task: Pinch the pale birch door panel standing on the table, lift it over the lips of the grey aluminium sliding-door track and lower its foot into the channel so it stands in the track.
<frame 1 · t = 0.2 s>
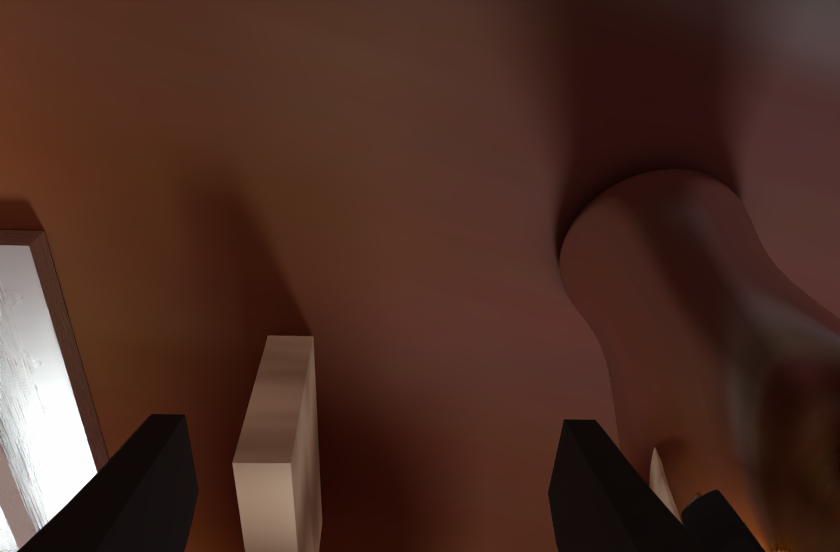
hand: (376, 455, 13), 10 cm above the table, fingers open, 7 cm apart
door track: (9, 436, 25), on the table
door panel: (298, 436, 26), on the table
beer glass: (648, 246, 22), on the table
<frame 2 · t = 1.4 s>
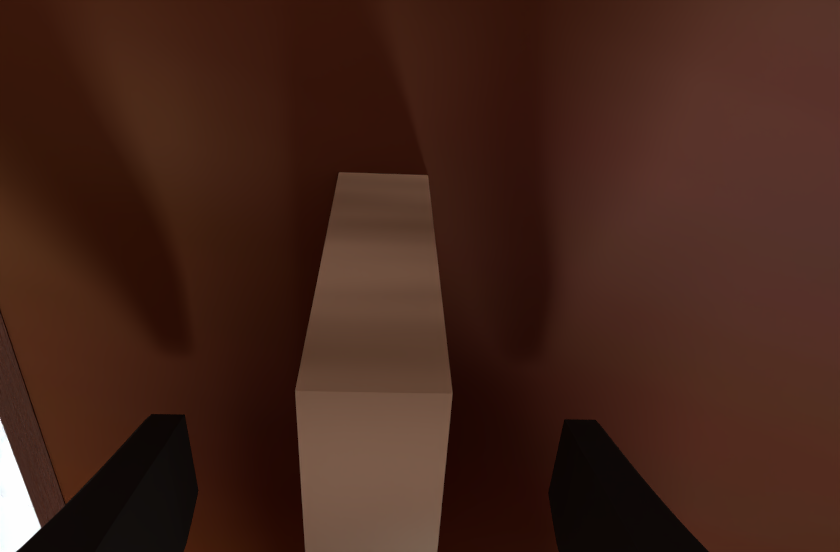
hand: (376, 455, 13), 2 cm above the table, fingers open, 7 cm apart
door panel: (378, 385, 14), on the table
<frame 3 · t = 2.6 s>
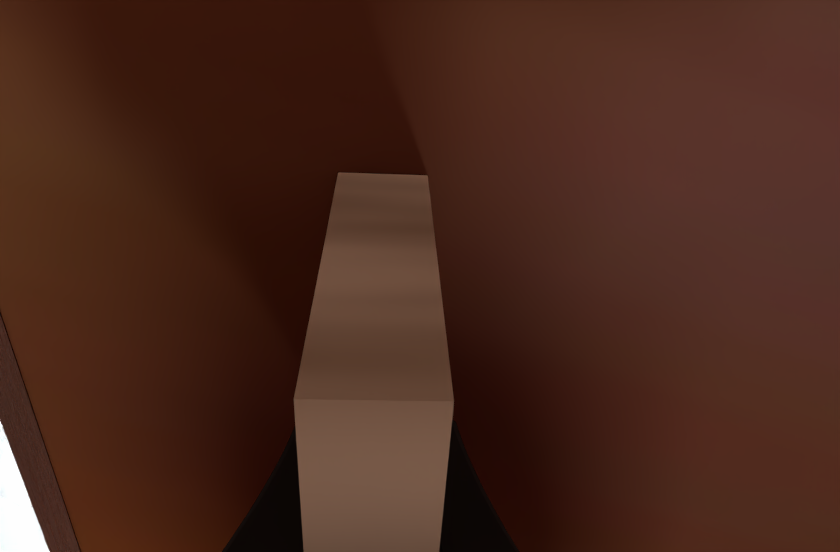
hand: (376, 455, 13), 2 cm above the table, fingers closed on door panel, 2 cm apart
door panel: (378, 388, 14), on the table, touching gripper
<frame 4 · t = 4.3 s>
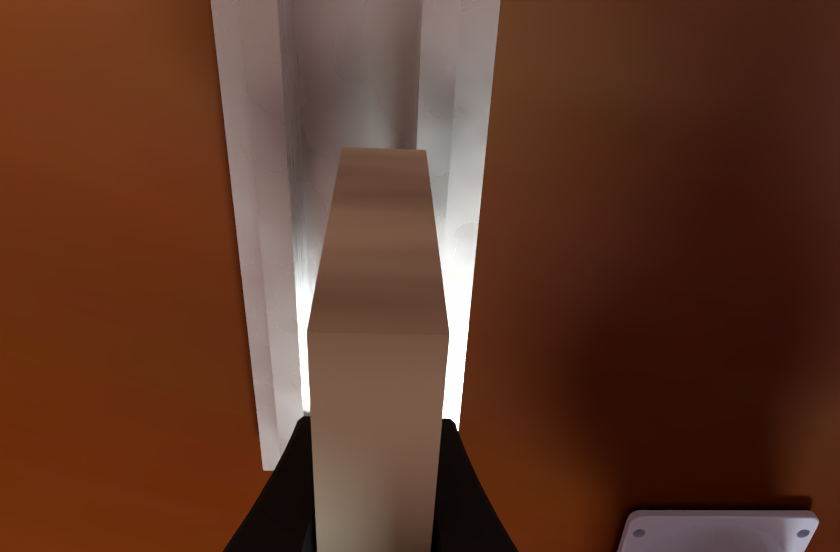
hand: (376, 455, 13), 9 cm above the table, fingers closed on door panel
door track: (359, 241, 20), on the table
door panel: (379, 356, 15), point 6 cm above the table, touching gripper
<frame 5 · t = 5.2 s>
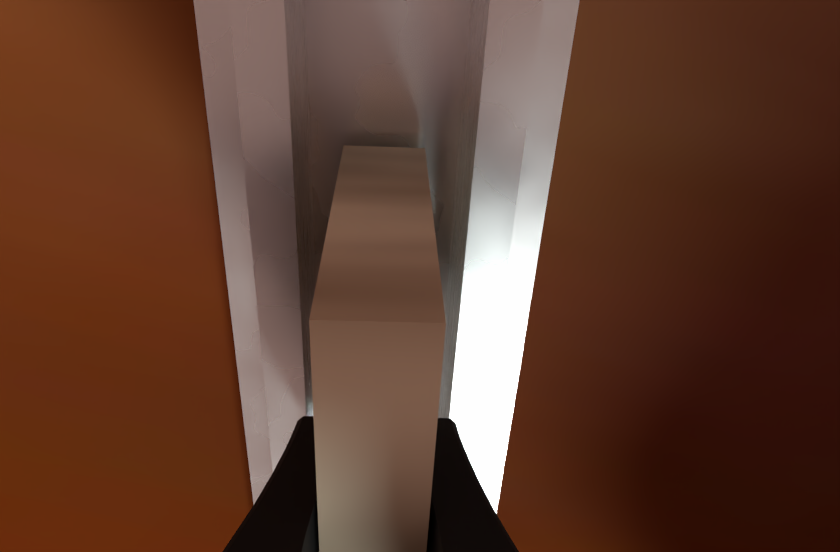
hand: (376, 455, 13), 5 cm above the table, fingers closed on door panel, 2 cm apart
door track: (381, 317, 17), on the table
door panel: (379, 350, 15), point 1 cm above the table, touching gripper
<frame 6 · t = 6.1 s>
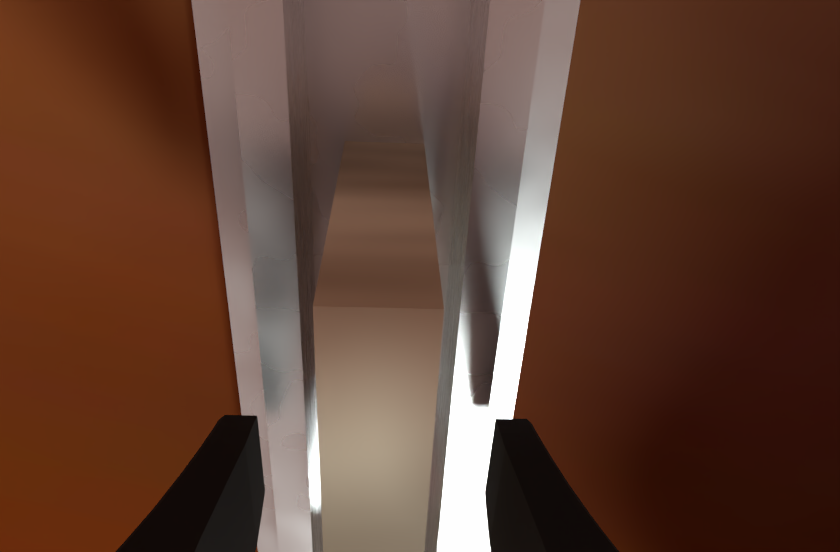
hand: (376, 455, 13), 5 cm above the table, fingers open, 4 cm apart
door track: (380, 319, 17), on the table
door panel: (380, 342, 16), point 1 cm above the table, touching door track
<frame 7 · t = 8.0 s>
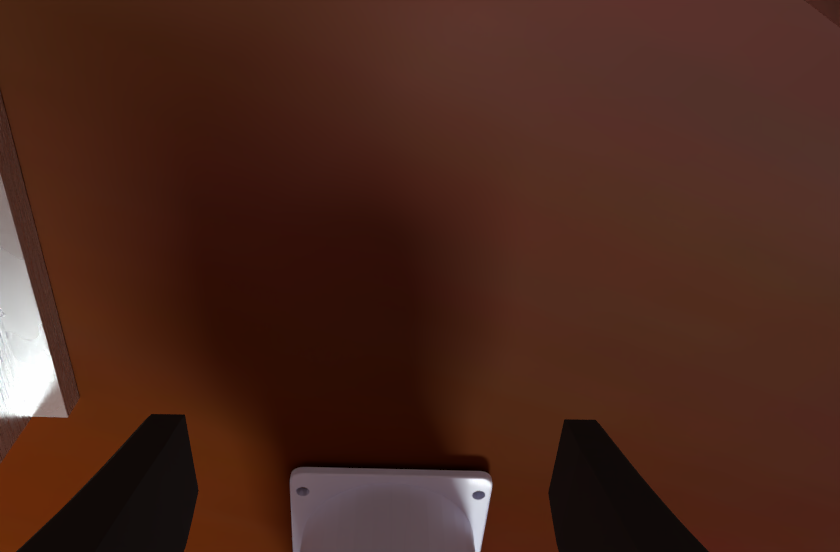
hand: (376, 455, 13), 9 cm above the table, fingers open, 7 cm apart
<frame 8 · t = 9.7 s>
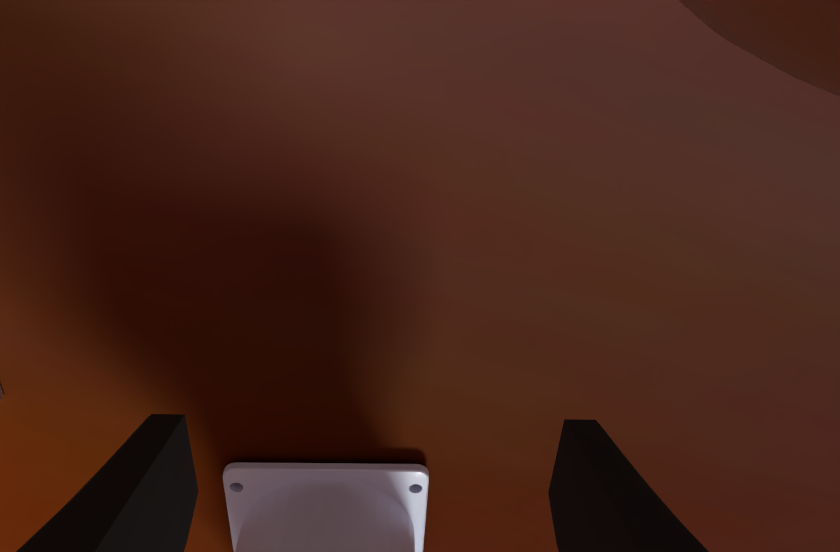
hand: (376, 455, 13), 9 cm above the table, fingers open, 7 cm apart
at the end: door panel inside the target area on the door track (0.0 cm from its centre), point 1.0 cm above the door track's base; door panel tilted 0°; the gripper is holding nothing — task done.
